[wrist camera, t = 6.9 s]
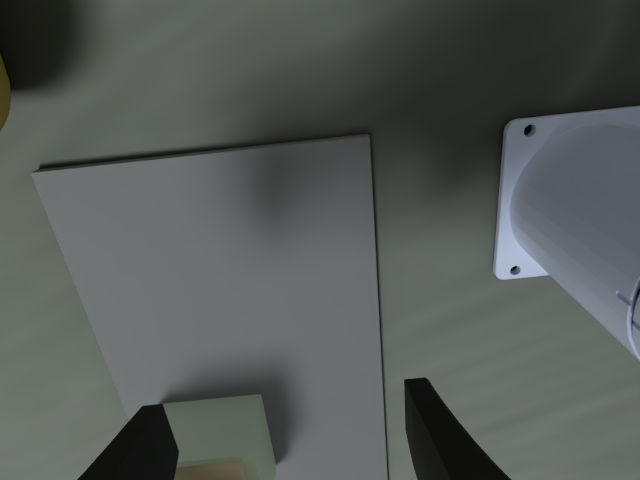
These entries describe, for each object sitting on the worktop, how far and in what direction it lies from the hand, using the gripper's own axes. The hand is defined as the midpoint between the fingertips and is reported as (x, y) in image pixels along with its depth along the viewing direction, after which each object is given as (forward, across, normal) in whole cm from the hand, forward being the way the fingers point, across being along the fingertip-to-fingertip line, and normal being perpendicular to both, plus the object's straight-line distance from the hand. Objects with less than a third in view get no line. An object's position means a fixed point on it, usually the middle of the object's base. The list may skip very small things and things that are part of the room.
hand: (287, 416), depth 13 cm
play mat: (+10, +4, +6) cm, 12 cm away
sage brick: (+9, +6, +11) cm, 16 cm away
